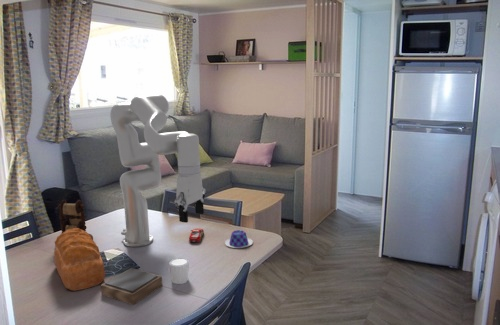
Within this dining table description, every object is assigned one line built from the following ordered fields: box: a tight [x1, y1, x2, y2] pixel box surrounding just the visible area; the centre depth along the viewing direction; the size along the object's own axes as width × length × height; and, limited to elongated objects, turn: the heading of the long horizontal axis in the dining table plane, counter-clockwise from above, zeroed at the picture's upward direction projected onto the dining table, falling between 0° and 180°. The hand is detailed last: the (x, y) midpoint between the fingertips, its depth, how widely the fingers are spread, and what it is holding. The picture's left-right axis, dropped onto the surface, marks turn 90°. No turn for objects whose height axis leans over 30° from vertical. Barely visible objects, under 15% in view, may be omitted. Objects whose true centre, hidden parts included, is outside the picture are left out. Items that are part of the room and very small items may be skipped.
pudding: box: [224, 229, 254, 249], centre depth 182 cm, size 12×12×5 cm
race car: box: [188, 228, 205, 243], centre depth 189 cm, size 13×5×4 cm, turn 177°
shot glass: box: [168, 257, 190, 285], centre depth 150 cm, size 7×7×7 cm
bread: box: [53, 228, 106, 291], centre depth 155 cm, size 14×26×16 cm, turn 32°
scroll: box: [57, 199, 94, 241], centre depth 181 cm, size 15×15×20 cm
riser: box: [100, 267, 163, 306], centre depth 144 cm, size 14×14×4 cm
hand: (191, 217), depth 150 cm, fingers open, 9 cm apart
